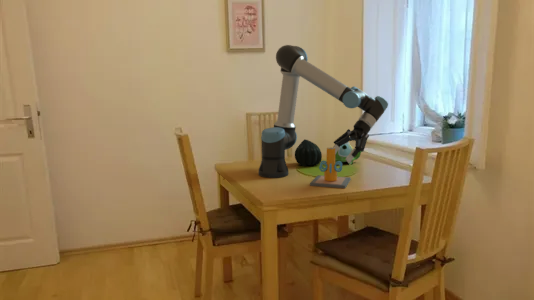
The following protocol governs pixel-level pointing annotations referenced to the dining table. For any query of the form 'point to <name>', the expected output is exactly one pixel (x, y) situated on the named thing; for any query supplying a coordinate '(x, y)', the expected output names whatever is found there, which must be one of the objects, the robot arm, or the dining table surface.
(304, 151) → the squash
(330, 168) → the tube with blue rings
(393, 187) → the dining table surface
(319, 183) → the tray
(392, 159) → the dining table surface
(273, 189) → the dining table surface
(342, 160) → the turtle holder
